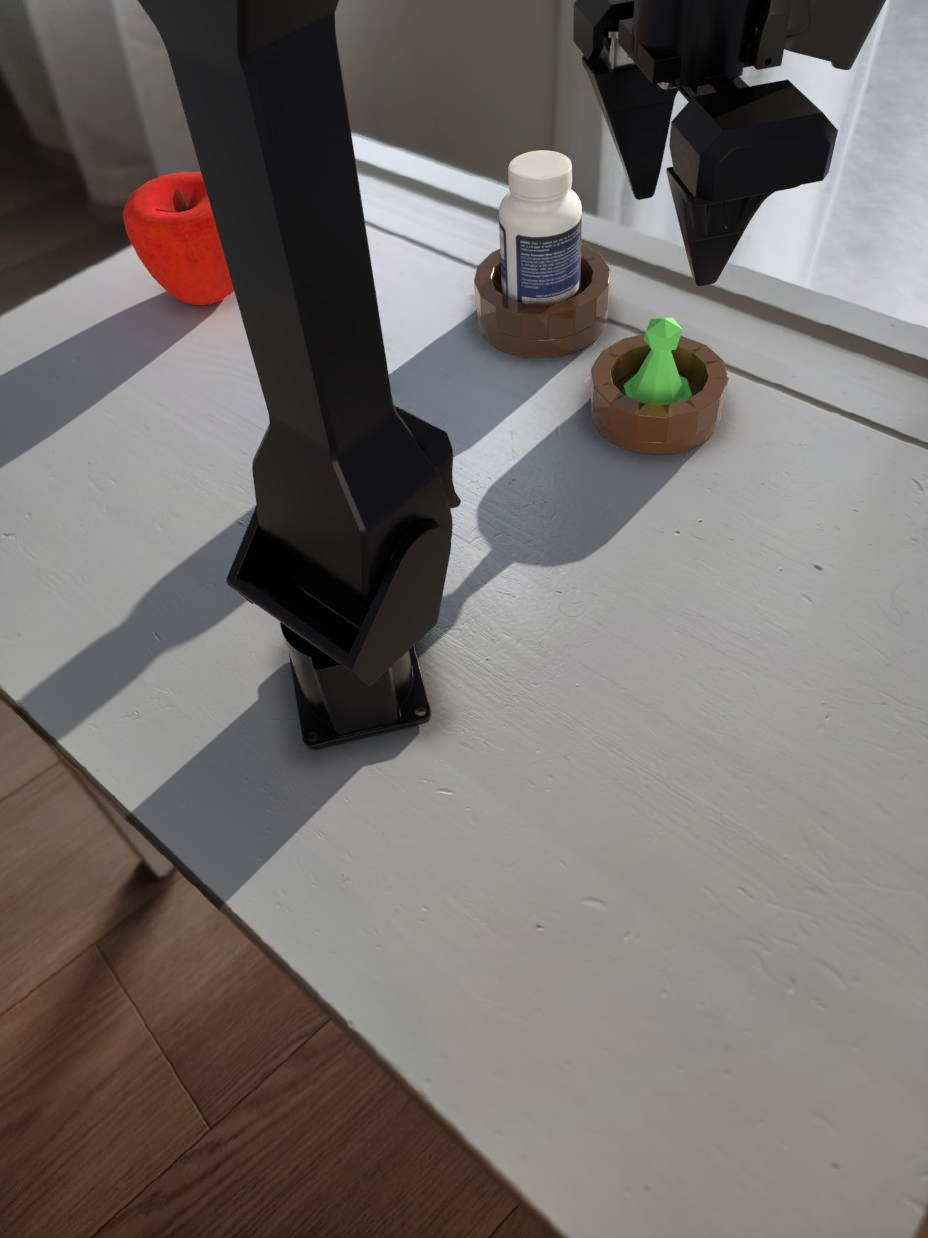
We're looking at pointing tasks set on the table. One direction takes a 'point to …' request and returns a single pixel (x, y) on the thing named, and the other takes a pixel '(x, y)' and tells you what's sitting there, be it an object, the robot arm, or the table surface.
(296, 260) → the robot arm
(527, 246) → the pill bottle
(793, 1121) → the table surface
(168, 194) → the apple
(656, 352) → the game piece
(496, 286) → the stand
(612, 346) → the small stand
